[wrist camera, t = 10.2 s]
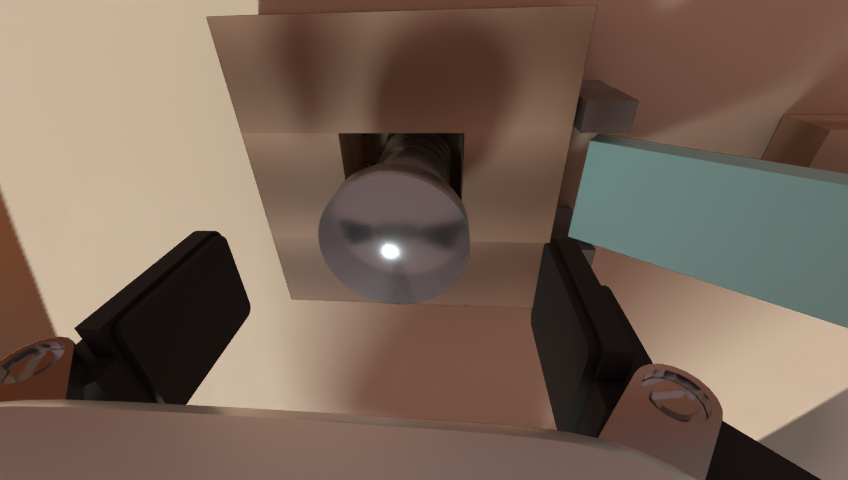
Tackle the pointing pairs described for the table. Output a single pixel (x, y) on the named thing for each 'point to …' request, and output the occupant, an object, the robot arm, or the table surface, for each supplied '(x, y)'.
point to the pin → (398, 224)
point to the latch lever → (721, 220)
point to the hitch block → (439, 125)
